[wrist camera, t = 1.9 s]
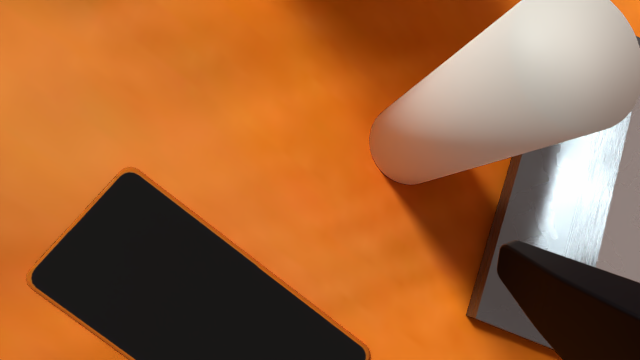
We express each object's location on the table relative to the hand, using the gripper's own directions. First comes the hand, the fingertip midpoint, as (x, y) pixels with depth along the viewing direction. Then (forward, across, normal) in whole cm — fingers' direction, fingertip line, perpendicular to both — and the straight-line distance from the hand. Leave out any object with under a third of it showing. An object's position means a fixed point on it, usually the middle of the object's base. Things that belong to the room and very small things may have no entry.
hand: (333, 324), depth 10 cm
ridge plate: (+10, -22, +10) cm, 26 cm away
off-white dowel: (+14, -10, +5) cm, 18 cm away
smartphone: (+11, +3, +10) cm, 15 cm away
